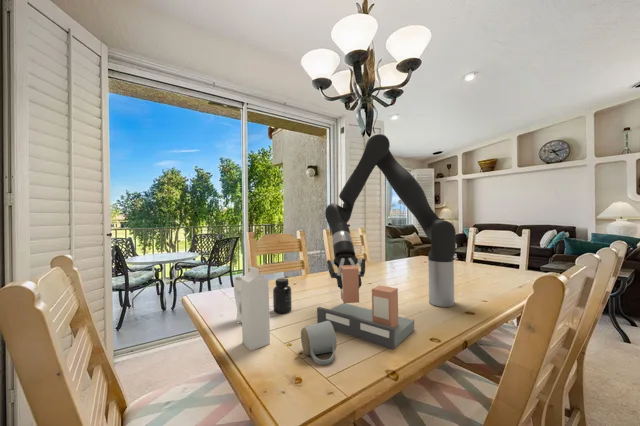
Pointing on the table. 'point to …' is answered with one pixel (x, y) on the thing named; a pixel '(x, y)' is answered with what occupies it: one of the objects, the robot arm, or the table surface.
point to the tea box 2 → (385, 305)
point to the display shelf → (365, 325)
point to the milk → (255, 310)
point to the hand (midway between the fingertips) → (350, 287)
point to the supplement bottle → (282, 297)
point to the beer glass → (238, 298)
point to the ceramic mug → (319, 340)
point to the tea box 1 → (350, 284)
